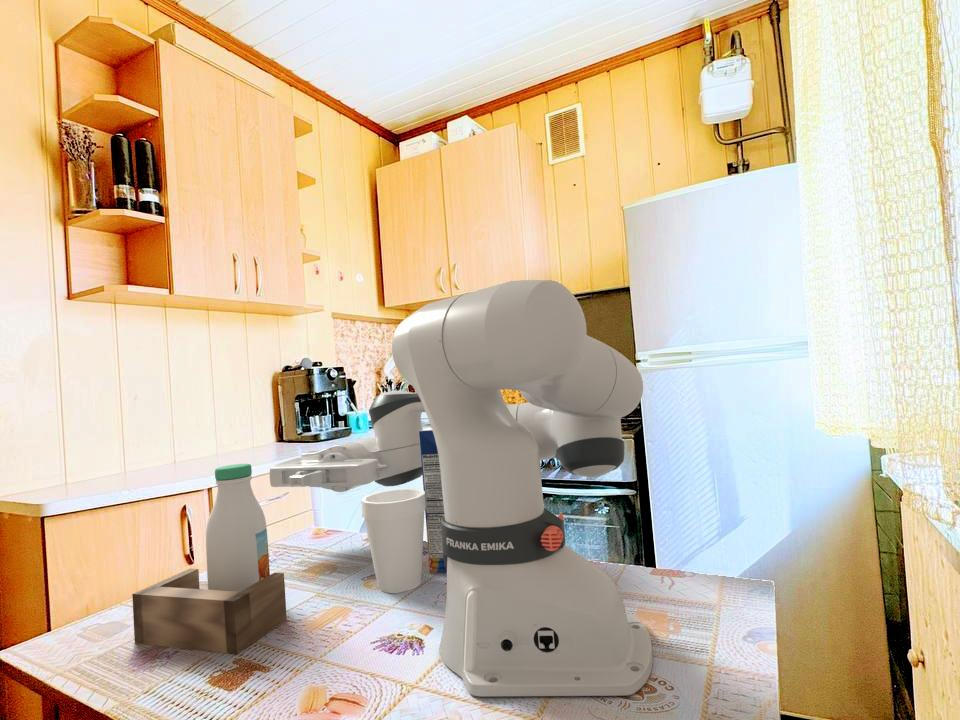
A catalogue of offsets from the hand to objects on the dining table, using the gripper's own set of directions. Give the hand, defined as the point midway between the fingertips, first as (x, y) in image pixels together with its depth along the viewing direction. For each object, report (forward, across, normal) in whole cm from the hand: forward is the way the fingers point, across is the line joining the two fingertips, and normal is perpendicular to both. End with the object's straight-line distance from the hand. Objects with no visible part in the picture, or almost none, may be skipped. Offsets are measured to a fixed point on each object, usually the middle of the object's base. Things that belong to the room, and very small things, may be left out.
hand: (295, 481), depth 83 cm
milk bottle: (+14, -1, -15) cm, 20 cm away
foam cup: (+2, -19, -15) cm, 25 cm away
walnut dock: (+19, -1, -15) cm, 24 cm away
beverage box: (-8, -25, -15) cm, 30 cm away
